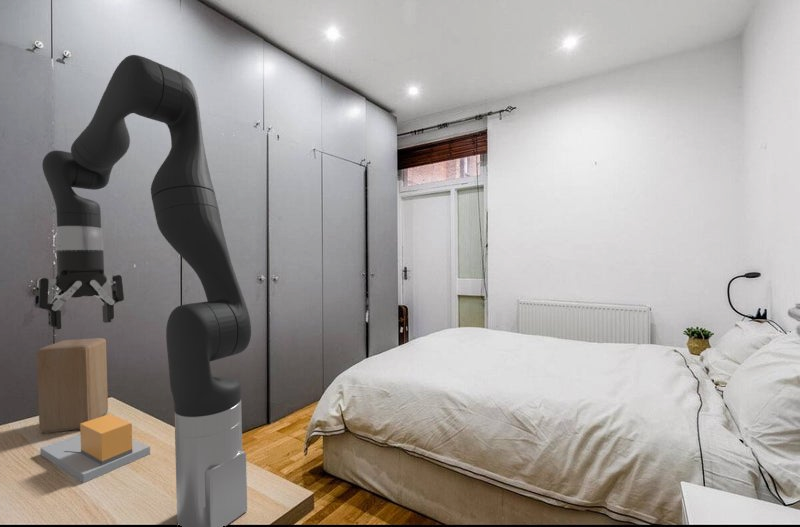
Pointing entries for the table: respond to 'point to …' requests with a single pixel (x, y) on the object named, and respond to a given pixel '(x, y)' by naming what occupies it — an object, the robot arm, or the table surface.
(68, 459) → the board
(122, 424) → the block
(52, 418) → the block
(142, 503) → the table surface
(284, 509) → the table surface
